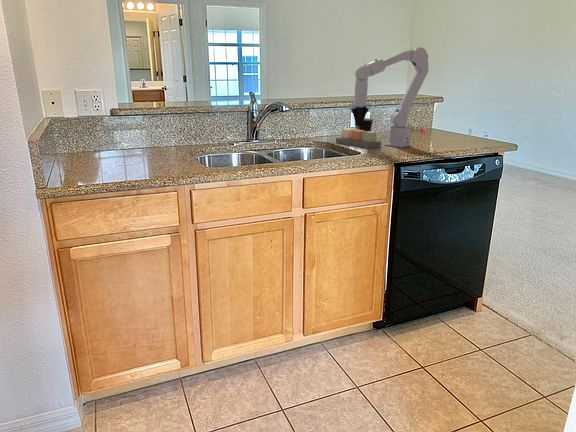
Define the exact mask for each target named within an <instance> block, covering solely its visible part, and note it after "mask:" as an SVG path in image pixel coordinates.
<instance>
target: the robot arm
mask: <svg viewBox="0 0 576 432" xmlns="http://www.w3.org/2000/svg"><path fill="white" fill-rule="evenodd" d="M402 61H407V62H408V61H410V63H411V64H412V65H413V68H414V71H415V73H414V75H413V77H412V79H411V81H410V83H409V84H408V85H409V86H408V87H407V89H406V91H405V94H404V95H403V97H402V100H401V102H400V103H399V105H398V106H397V107H396V109H395V110H394V111H393V112H392V113H391V115H390V121H391V124H390V125H389V126H390V127H389V137H388V138H389V139H388V142H387V143H385V144H384V145H385V146H391V147H396V148H406V147H411V146H412V144H411V139H412V130H411V128H410V127H407V124H408V121H409V120H408V119H409V118H408V117H409V114H410V112H411V111H410V110H411V107H412V105H413V103H414V101H415V99H416V97H417V95H418V93H419V92H420V89H421V87H422V85H423V83H424V81H425V79H426V77H427V75H428V74H429V54H428V52H427V50H426V49H425V48H424V47H421V46H419V47H414V48H411V49H407V50H403V51H401V52H398V53H397V54H394V55H392V56H389V57H388V58H385V59H382V58H374V59H373V61H371V62H368V63H364V64H363V65H362V66H358V67H357V68H356V70H355V72H354V75H355V83H354V100H353V103H350V104H348V105H347V106H348V108H347V109H350V110H351V113H352V115H353V118H354V125H355V124H363V121H364V118H366V116H367V114H368V112H369V111H370V110H369V108H372V102H367V101H368V88H369V87H368V86H369V84H368V79H369V78H370V77H373V76H375V75H377V74H380V73H382V72H384V71H385V69H386V67H388V66H392V65H395V64H397V63H399V62H400V63H401V62H402Z"/></svg>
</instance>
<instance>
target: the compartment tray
mask: <svg viewBox="0 0 576 432" xmlns="http://www.w3.org/2000/svg"><path fill="white" fill-rule="evenodd" d="M335 143H336V144H339V145H347V146H352V147H357V148H362V149H368V150H370V149H373V148H374V149H375V148H380V147H381V143H382V141H379V140H376V141H375V142H364V141H362V140H353V139H352V138H350V139H347V138H341V137H339V136H338V137H335Z"/></svg>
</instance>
